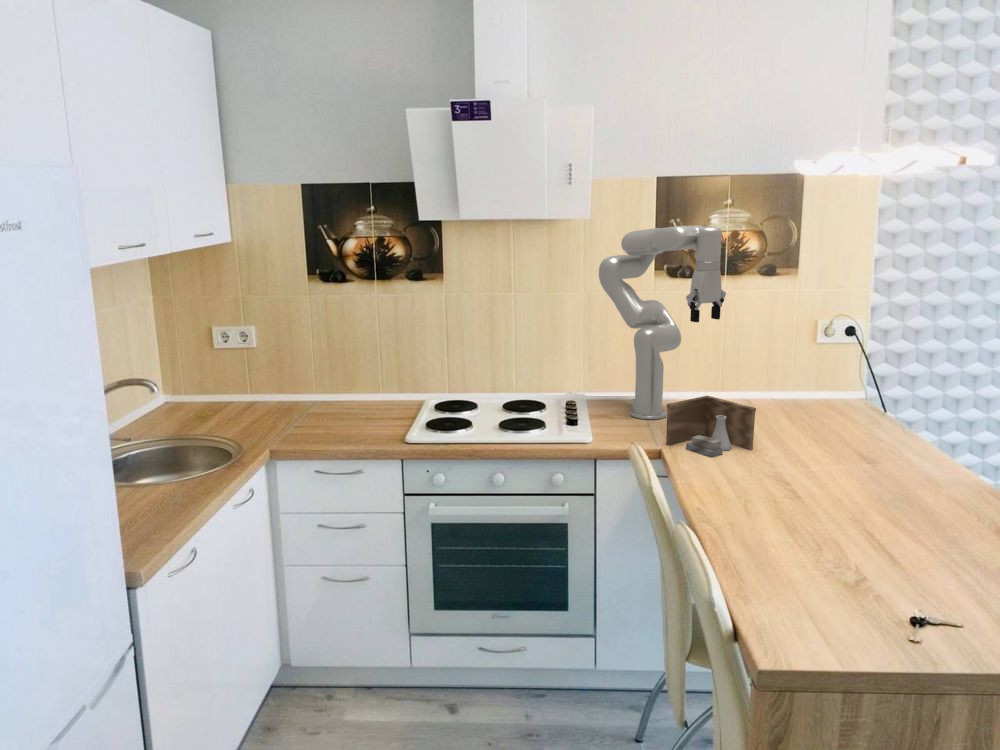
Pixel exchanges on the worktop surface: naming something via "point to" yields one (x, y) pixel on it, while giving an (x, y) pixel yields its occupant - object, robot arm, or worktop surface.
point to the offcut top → (706, 442)
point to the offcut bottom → (704, 450)
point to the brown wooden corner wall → (709, 420)
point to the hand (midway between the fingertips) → (705, 320)
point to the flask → (721, 433)
